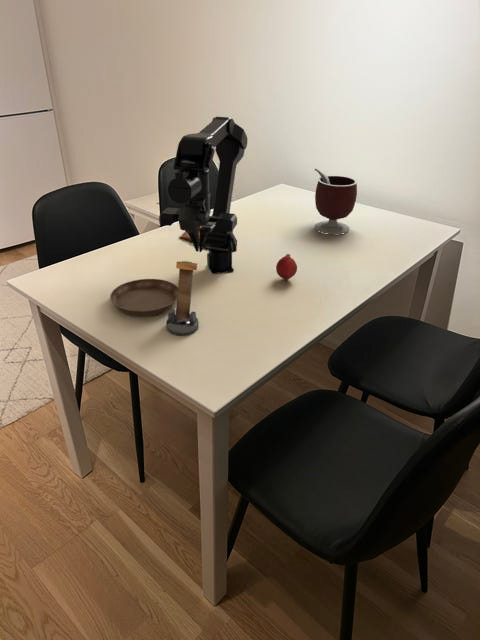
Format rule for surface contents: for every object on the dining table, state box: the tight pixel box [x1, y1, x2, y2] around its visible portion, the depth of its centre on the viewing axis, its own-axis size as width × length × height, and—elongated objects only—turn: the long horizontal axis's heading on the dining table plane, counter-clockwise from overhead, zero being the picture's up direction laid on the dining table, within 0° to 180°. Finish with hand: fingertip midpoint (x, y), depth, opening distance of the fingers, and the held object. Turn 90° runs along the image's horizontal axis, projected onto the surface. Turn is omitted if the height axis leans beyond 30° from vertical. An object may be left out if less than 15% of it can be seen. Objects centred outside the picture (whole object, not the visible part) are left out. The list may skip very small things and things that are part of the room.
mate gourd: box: [314, 167, 358, 234], centre depth 171 cm, size 16×14×20 cm
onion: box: [275, 253, 298, 281], centre depth 138 cm, size 6×6×8 cm
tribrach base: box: [165, 308, 199, 337], centre depth 117 cm, size 8×8×4 cm
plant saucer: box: [109, 278, 178, 317], centre depth 127 cm, size 18×18×3 cm
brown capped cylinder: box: [175, 260, 198, 319], centre depth 116 cm, size 5×5×13 cm
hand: (199, 251), depth 127 cm, fingers closed
